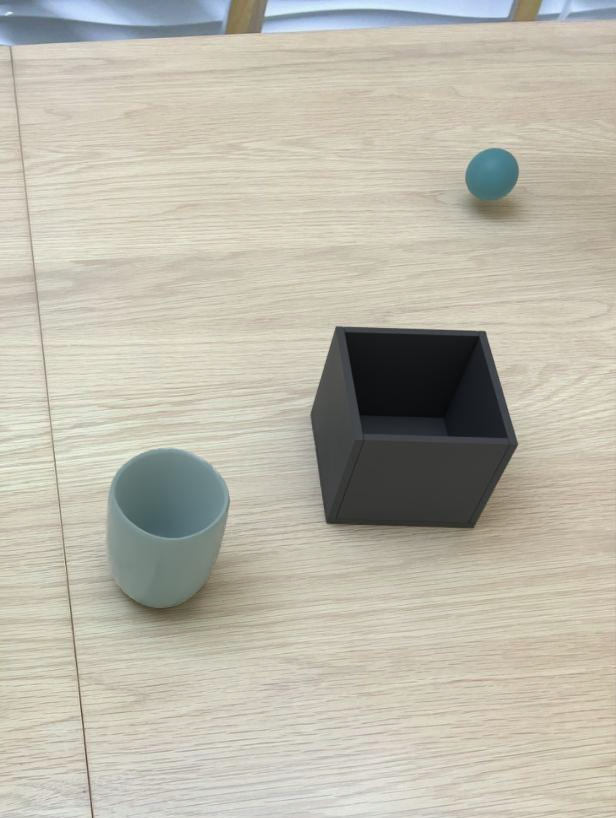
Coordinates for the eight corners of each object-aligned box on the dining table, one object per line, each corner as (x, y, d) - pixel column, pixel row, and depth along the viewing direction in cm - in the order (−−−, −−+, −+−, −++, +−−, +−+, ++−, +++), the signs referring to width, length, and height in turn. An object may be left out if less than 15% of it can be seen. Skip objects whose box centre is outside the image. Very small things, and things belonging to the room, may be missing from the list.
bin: (447, 417, 89) (485, 330, 81) (474, 528, 82) (518, 444, 75) (310, 413, 89) (335, 325, 81) (325, 523, 82) (355, 439, 75)
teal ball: (503, 181, 108) (520, 138, 104) (513, 212, 105) (531, 169, 101) (454, 179, 108) (470, 136, 104) (463, 210, 105) (480, 167, 101)
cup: (81, 571, 79) (85, 485, 71) (160, 517, 82) (172, 429, 74) (153, 643, 76) (166, 561, 68) (232, 584, 79) (254, 499, 71)
